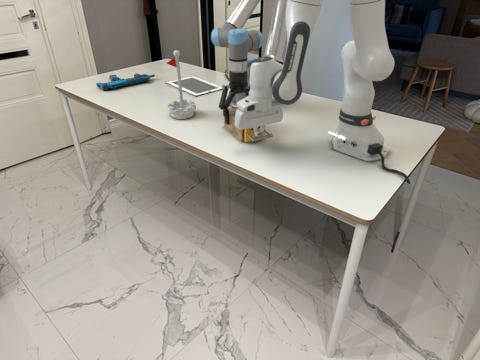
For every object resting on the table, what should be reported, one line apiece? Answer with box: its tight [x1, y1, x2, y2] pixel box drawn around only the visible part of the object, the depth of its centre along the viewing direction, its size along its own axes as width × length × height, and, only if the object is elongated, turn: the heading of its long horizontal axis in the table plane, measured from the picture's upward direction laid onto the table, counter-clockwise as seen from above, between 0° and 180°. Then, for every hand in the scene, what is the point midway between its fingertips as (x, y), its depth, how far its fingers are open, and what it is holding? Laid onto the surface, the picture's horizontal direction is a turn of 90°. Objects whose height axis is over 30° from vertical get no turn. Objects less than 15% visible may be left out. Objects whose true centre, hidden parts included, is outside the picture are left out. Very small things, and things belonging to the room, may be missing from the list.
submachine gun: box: [95, 73, 156, 91], centre depth 209 cm, size 34×4×25 cm
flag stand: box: [165, 49, 197, 120], centre depth 157 cm, size 13×13×30 cm
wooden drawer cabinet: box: [223, 107, 246, 143], centre depth 147 cm, size 17×10×8 cm, turn 27°
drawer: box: [244, 126, 274, 143], centre depth 142 cm, size 22×9×6 cm, turn 28°
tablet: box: [165, 75, 223, 97], centre depth 203 cm, size 32×20×1 cm, turn 41°
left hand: (238, 121), depth 150 cm, fingers closed on wooden drawer cabinet, 10 cm apart
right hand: (258, 135), depth 136 cm, fingers closed
